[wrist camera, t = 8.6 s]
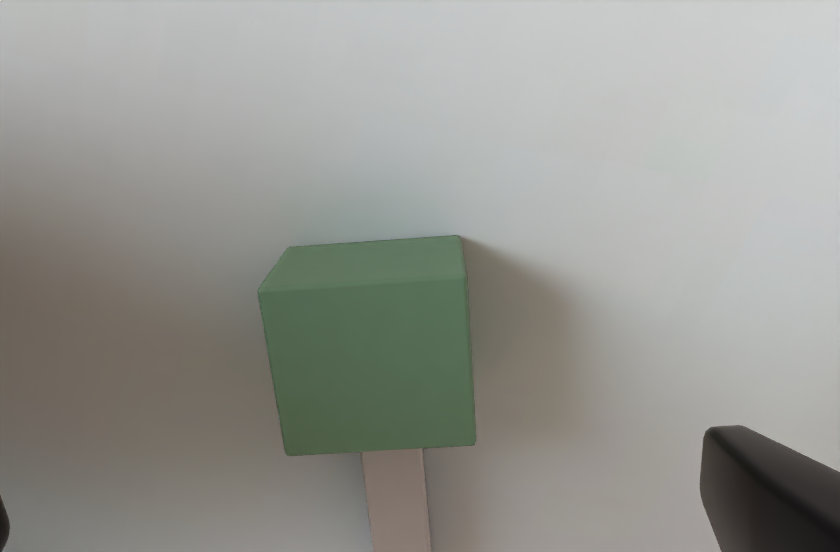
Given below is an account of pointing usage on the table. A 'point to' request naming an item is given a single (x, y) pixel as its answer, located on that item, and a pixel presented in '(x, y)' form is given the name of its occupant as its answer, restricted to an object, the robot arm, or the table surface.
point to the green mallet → (374, 366)
